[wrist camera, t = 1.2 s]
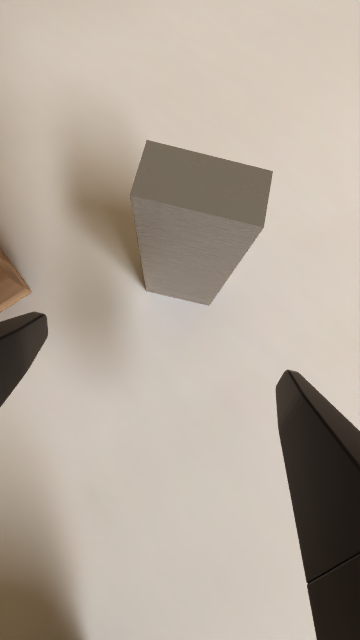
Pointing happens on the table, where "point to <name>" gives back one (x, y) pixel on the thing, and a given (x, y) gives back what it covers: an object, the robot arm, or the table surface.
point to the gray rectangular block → (195, 219)
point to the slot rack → (10, 284)
